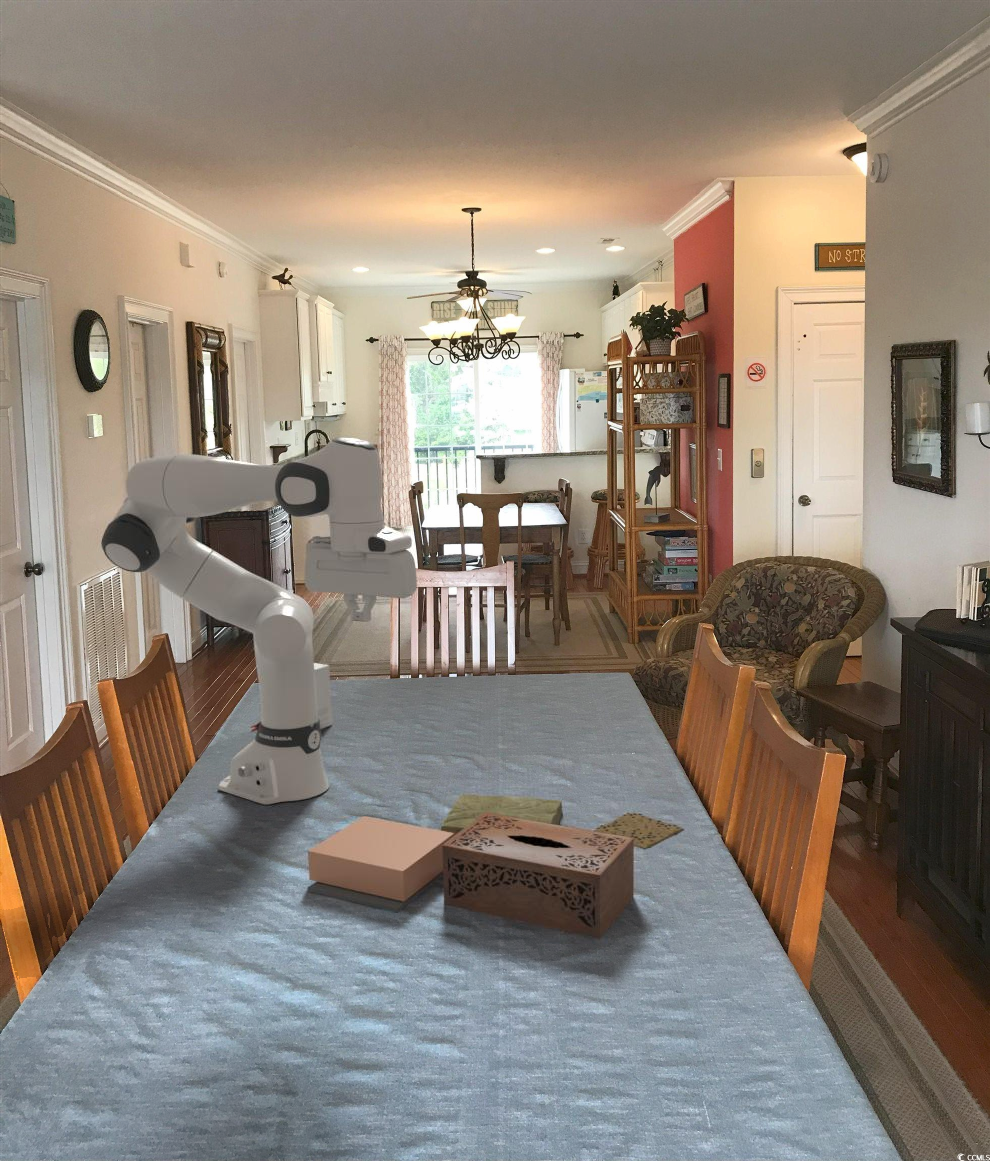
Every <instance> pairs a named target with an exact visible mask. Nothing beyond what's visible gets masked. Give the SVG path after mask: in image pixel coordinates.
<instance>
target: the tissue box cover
mask: <svg viewBox="0 0 990 1161" xmlns="http://www.w3.org/2000/svg"><path fill="white" fill-rule="evenodd" d="M634 847H635V846H634V838H631V837H625V836H619V835H613V834H607V833H602V832H596V831H594V830H590V829H583V828H578V827H572V826H566V825H560V824H558V825H555V824H550V823H544V822H538V821H532V820H526V819H521V818H515V817H509V816H503V815H497V814H492V813H486V812H485V813H484V814H482V815H481V816H480V817H479V818H477V819H476V820H475V821H473V822H472V823H471V824H469V825H468V826H467V827H466V828H464V829H463V830H462V831H460V832H459V833H458V834H456V835H455V836H454V837H453V838H451V839H450V840H449V841H447V842H446V843H445V844H443V845H442V848H443V877H442V878H443V880H442V881H443V905H444V906H449V907H453V908H458V909H462V910H468V911H471V912H472V911H473V912H476V913H481V914H485V915H489V916H490V915H491V916H495V917H499V918H504V919H508V920H514V921H517V922H523V923H527V924H532V925H536V926H540V927H545V928H550V929H554V930H560V931H564V932H568V933H573V934H577V935H582V936H587V937H590V938H595V939H601V938H602V937H603V936H604V934H606V932H607V931H608V929H609V928H610V927H611V926H612V925H613V923H615V921H616V920H617V918H618V917H619V916H620V915H621V913H623V911H624V909H626V907H627V906H628V905H629V903H630V902H631V901H632V899H633V898H634V892H635V890H634V889H635V888H634V887H635V886H634V883H635V882H634V876H635V875H634V873H635V872H634V871H635V868H634V864H635V862H634V860H635V859H634V855H635V854H634V852H635V850H634V849H635V848H634Z"/></svg>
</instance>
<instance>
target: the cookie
mask: <svg viewBox="0 0 990 1161" xmlns="http://www.w3.org/2000/svg"><path fill="white" fill-rule="evenodd" d="M684 830H685V828H684V827H681V826H678V825H676V824H671V823H668V822H665V821H662V820H659V819H655V818H653V817H652V818H651V817H649V816H646V815H643V814H642V813H637V812H635V811H634V812H633V811H632V812H627V813H625V814H623V815H622V816H620V817H618V818H616V819H614V820H612V821H610V822H607V823H605V824H601V825H599V826H598V827H596V828H595V829H593V831H596V832H602V833H607V834H613V835H619V836H625V837H631V838H634V847H636V848H638V849H639V848H640V849H643V850H648V849H649V848H652V847H653V846H655V845H658V844H659V843H661V842H664V840H667V839H669V838H670V837H671V838H672V836H675V835H677V834H678V833H680V832H683V831H684Z"/></svg>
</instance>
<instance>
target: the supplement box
mask: <svg viewBox="0 0 990 1161" xmlns="http://www.w3.org/2000/svg"><path fill="white" fill-rule="evenodd" d="M314 670H315V679H316V697H317V717H318V718H319V719H320V730H322V729H325V728H328V727H331V726H332V725H333V724H334V722H333V708H332V694H331V690H332V689H331V677H330V676H331V673H330V665H329V664H322V663H319V662H318V663H317V662H314Z"/></svg>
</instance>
